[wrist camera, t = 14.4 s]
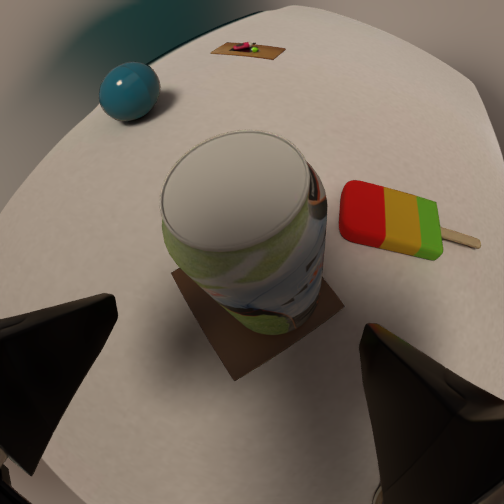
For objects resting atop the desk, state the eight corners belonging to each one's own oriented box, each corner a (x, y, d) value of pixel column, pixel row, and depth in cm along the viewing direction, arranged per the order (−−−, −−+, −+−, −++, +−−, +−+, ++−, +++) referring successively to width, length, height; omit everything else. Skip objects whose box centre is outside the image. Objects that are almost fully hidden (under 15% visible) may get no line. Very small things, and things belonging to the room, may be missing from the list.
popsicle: (340, 188, 23) (344, 174, 22) (471, 225, 21) (480, 215, 19) (335, 241, 21) (341, 228, 19) (478, 274, 19) (490, 266, 17)
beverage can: (327, 323, 18) (412, 229, 7) (219, 352, 17) (145, 294, 6) (299, 243, 20) (327, 103, 10) (202, 266, 20) (143, 136, 9)
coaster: (343, 307, 18) (345, 305, 18) (234, 381, 16) (234, 381, 16) (272, 217, 22) (272, 214, 22) (172, 274, 20) (170, 272, 20)
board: (273, 59, 37) (273, 52, 35) (210, 53, 39) (209, 46, 38) (285, 49, 39) (285, 42, 38) (227, 43, 42) (226, 37, 40)
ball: (141, 96, 33) (126, 52, 26) (178, 103, 31) (166, 51, 24) (100, 128, 30) (79, 82, 23) (134, 139, 28) (112, 84, 21)
